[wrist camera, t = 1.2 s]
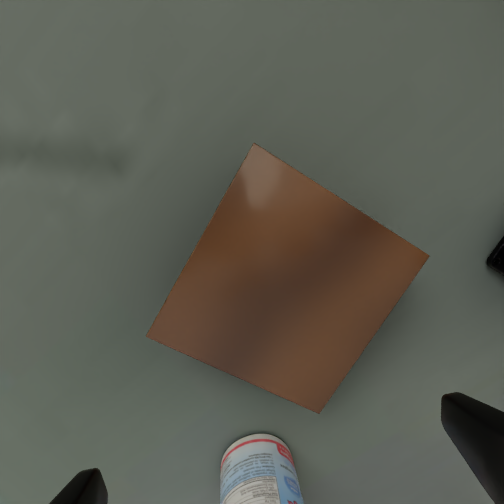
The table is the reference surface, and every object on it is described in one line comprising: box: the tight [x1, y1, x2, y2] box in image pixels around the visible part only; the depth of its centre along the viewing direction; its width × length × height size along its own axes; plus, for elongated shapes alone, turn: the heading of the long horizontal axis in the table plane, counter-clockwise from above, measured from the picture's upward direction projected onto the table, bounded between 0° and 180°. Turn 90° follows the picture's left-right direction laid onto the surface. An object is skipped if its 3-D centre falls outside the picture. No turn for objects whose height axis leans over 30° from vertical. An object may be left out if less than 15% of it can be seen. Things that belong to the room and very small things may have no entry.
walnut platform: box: [146, 143, 429, 414], centre depth 19 cm, size 13×13×4 cm
